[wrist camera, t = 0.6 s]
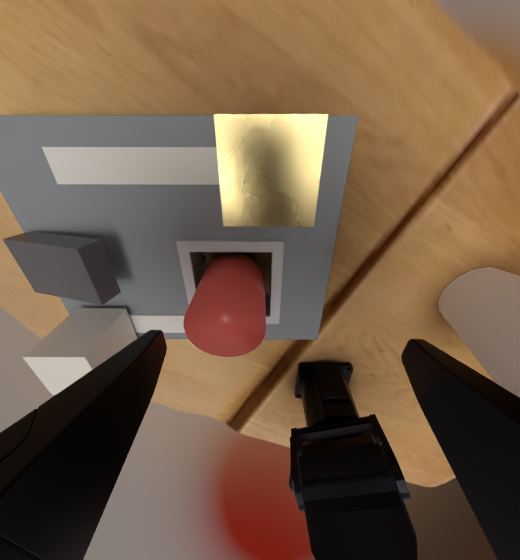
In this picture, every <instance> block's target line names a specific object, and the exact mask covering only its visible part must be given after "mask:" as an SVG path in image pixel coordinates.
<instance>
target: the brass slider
mask: <svg viewBox="0 0 520 560" xmlns="http://www.w3.org/2000/svg"><path fill="white" fill-rule="evenodd" d="M327 120H328V114H214V124H215V136H216V147H217V159H218V171H219V183H220V195H221V207H222V218H223V226H260V227H314V222H315V214H316V206H317V199H318V191H319V183H320V175H321V167H322V159H323V151H324V143H325V136H326V128H327Z"/></svg>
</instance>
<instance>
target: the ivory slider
mask: <svg viewBox="0 0 520 560" xmlns="http://www.w3.org/2000/svg"><path fill="white" fill-rule="evenodd" d="M136 339H137V336H136V334H135V331H134V328H133V326H132V323H131V321H130V318H129V315H128V313H127V310H126V309H122V308H77V309H76V310H75V311H74V312H73V313H72V314H71V315H70V316H68V317H67V318H66V319H65V320H64V321H63V322H62V323H60V324H59V325H58V326H57V327H56V328H55V329H54V330H52V331H51V332H50V333H49V334H48V335H47V336H46V337H45V338H43V339H42V340H41V341H40V342H39V343H38V344H37V345H36V346H34V347H33V348H32V349H31V350H30V351H29V352H28V353H26V354H25V355H24V356H23V359H24V360H25V361H26V362H27V364H28V365H29V366H30V367H31V369H32V370H33V371H34V372H35V374H36V375H37V376H38V377H39V379H40V380H41V381H42V383H43V384H44V385H45V386H46V387H47V389H48V390H49V391H50V393H51V394H52V395H56V394H58V393H59V392H61V391H62V390H64V389H65V388H66V387H68V386H69V385H71V384H72V383H74V382H75V381H77V380H78V379H80V378H81V377H82V376H84V375H85V374H87V373H88V372H90V371H91V370H93V369H94V368H95V367H97V366H98V365H100V364H101V363H103V362H104V361H106V360H107V359H108V358H110V357H111V356H113V355H114V354H116V353H117V352H119V351H120V350H121V349H123V348H124V347H126V346H127V345H129V344H130V343H132V342H133V341H135V340H136Z"/></svg>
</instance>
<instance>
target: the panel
mask: <svg viewBox="0 0 520 560" xmlns="http://www.w3.org/2000/svg"><path fill="white" fill-rule="evenodd" d="M357 120H358V116H328V120H327V128H326V136H325V143H324V151H323V159H322V167H321V175H320V183H319V191H318V199H317V206H316V214H315V222H314V227H260V226H223V218H222V207H221V195H220V183H219V171H218V159H217V147H216V136H215V124H214V115H0V190H1V192H2V194H3V196H4V197H5V199H6V201H7V203H8V205H9V206H10V208H11V210H12V212H13V214H14V215H15V217H16V219H17V221H18V223H19V224H20V226H21V228H22V230H23V232H24V233H26V232H30V231H33V232H42V233H50V234H59V235H68V236H76V237H85V238H93V239H101V241H102V243H103V246H104V249H105V251H106V254H107V256H108V259H109V262H110V264H111V267H112V270H113V272H114V275H115V277H116V280H117V283H118V285H119V288H120V291H121V293H119V294H118V295H116V296H115V297H114V298H112V299H111V300H109V301H108V302H106V303H105V304H103V305H99V304H93V303H88V302H83V301H78V300H73V299H68V298H63V297H60V298H61V300H62V302H63V304H64V305H65V307H66V309H67V311H68V313H69V314H70V315H71V314H72V313H73V312H74V311H75V310H76V309H77V308H122V309H126V310H127V313H128V315H129V318H130V321H131V323H132V326H133V328H134V331H135V334H136V336H137V338H139V337H140V336H142V335H143V334H145V333H146V332H148V331H149V330H162V331H163V333H164V337H165V339H189V338H188V337H187V335H186V333H185V330H184V325H183V322H184V316H185V314H186V312H187V309H188V307H189V305H190V303H191V300H192V298H193V296H194V294H195V292H196V289H197V287H198V285H199V283H200V281H201V278H202V276H203V274H204V272H205V269H204V262H203V255H202V252H270V279H269V295H265V308H266V333H265V337H264V339H282V340H317V339H318V334H319V328H320V323H321V317H322V312H323V306H324V301H325V295H326V290H327V284H328V279H329V273H330V268H331V263H332V257H333V252H334V246H335V241H336V235H337V230H338V224H339V219H340V213H341V208H342V202H343V197H344V192H345V186H346V181H347V175H348V170H349V164H350V159H351V153H352V148H353V142H354V137H355V131H356V126H357Z"/></svg>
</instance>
